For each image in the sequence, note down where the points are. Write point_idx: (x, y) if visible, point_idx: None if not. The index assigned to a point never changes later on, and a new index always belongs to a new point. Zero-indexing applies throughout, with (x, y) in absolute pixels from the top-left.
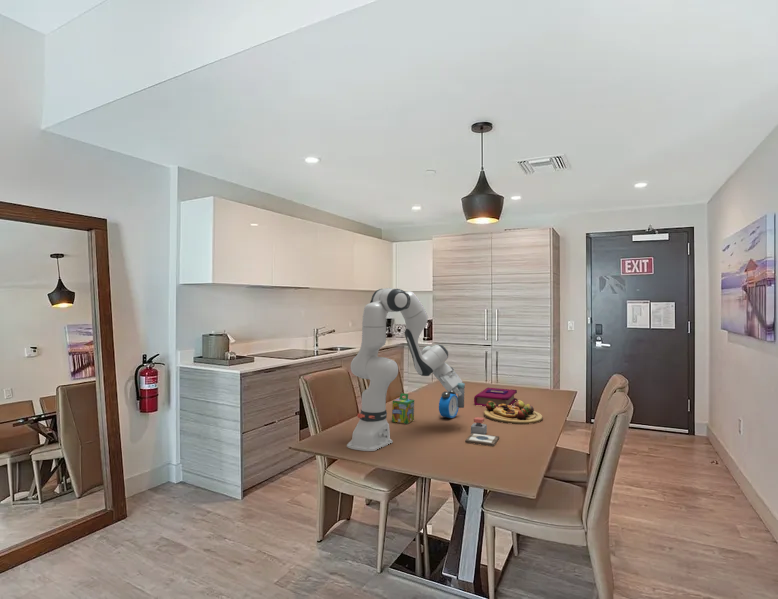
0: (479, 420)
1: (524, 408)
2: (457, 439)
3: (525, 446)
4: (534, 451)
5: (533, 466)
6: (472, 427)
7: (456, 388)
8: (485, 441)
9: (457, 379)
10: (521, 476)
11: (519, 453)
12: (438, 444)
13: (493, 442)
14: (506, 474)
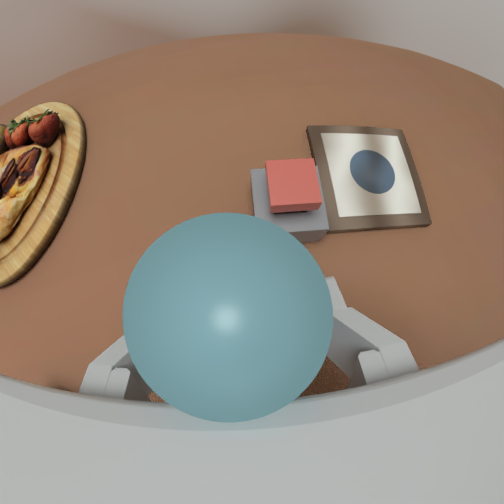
0: (315, 174)
1: (12, 129)
2: (411, 267)
3: (334, 66)
4: (357, 54)
5: (439, 66)
6: (326, 222)
7: (407, 351)
8: (401, 154)
9: (8, 467)
10: (484, 90)
11: (397, 79)
12: (480, 303)
13: (387, 132)
14: (497, 109)
